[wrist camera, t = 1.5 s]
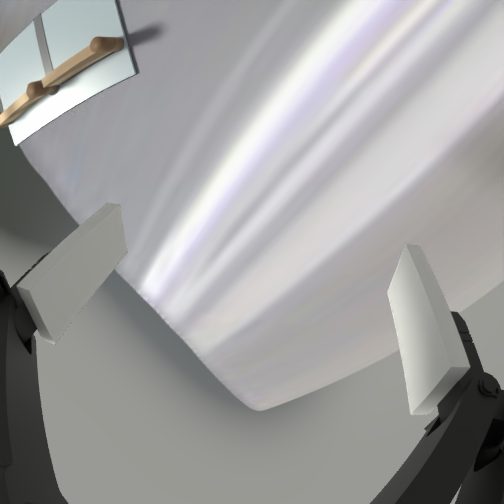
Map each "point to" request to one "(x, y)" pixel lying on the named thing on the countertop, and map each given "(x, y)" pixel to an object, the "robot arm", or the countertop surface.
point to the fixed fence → (75, 65)
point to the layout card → (61, 60)
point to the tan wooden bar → (16, 109)
